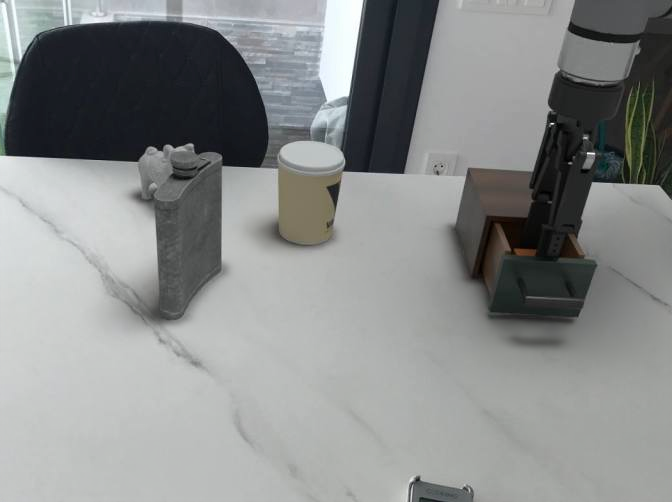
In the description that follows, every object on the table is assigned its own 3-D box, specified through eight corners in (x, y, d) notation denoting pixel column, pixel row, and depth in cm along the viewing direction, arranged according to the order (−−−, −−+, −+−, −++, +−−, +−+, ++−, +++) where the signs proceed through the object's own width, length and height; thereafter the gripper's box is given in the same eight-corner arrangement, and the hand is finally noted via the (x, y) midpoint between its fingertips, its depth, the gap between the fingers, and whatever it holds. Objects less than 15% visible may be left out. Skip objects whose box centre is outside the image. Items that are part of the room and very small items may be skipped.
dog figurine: (185, 227, 112) (183, 157, 105) (134, 195, 119) (129, 127, 112) (214, 217, 115) (214, 148, 108) (162, 185, 122) (159, 119, 115)
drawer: (589, 340, 95) (610, 286, 90) (496, 335, 94) (512, 280, 89) (552, 262, 109) (568, 212, 104) (471, 258, 108) (483, 207, 104)
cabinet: (561, 284, 106) (583, 221, 100) (470, 278, 106) (486, 215, 100) (537, 232, 117) (554, 172, 111) (454, 227, 117) (467, 167, 111)
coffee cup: (338, 249, 110) (348, 169, 102) (273, 246, 109) (277, 165, 102) (335, 218, 117) (343, 141, 109) (273, 215, 117) (277, 138, 109)
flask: (150, 314, 95) (141, 177, 83) (200, 260, 105) (198, 131, 94) (177, 322, 94) (172, 183, 83) (224, 266, 105) (226, 136, 93)
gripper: (655, 107, 77) (585, 303, 92) (599, 52, 92) (546, 229, 106) (581, 102, 77) (522, 299, 91) (536, 48, 91) (492, 226, 106)
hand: (535, 261), depth 99 cm, fingers open, 6 cm apart
